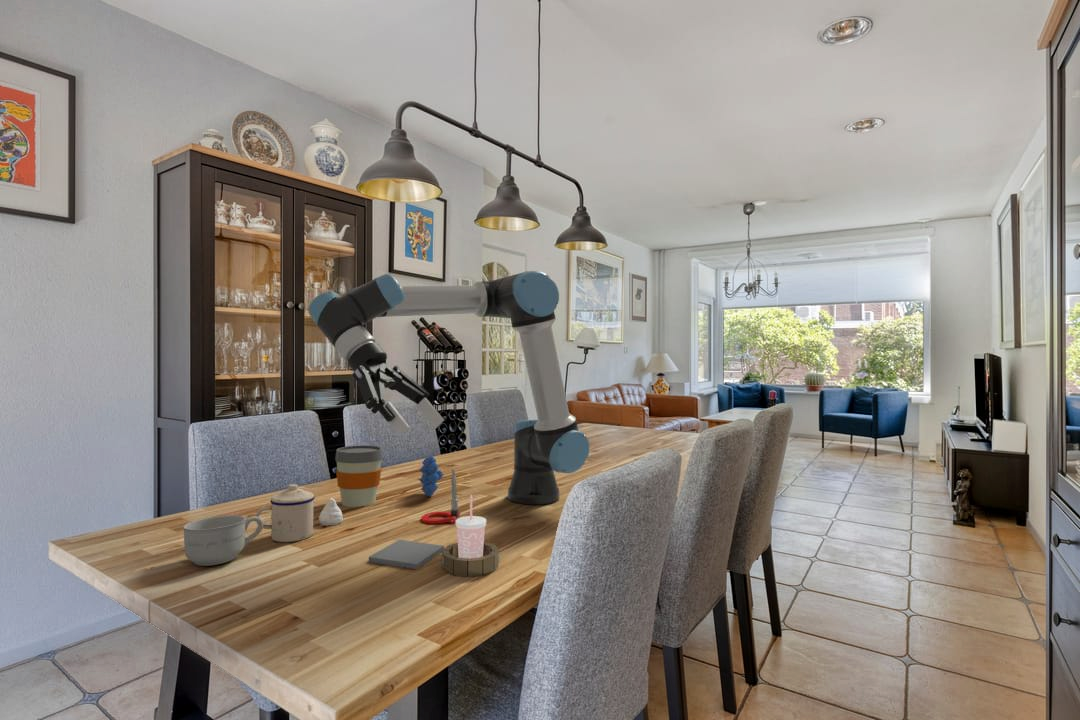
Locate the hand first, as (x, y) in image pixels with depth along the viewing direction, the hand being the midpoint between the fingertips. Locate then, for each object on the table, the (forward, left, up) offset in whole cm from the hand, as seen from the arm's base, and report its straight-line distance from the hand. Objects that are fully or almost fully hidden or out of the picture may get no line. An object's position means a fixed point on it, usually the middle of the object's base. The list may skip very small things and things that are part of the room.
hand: (423, 428), depth 112 cm
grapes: (-31, -39, -27) cm, 57 cm away
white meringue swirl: (+2, -35, -27) cm, 44 cm away
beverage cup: (-5, +10, -27) cm, 29 cm away
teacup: (+28, -27, -27) cm, 48 cm away
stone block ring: (-5, +10, -27) cm, 29 cm away
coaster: (+1, -3, -27) cm, 27 cm away
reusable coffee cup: (-12, -47, -27) cm, 56 cm away
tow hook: (-19, -19, -27) cm, 38 cm away
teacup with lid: (+14, -32, -27) cm, 44 cm away
